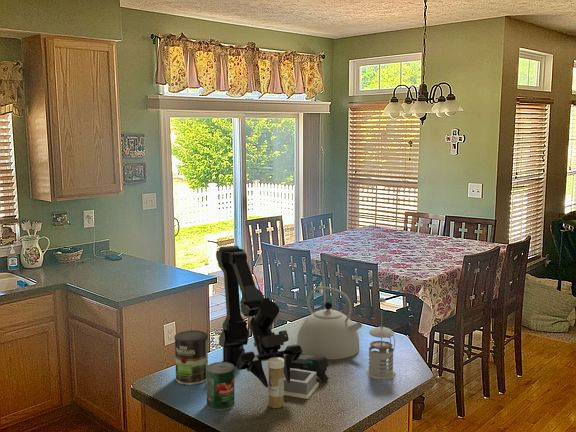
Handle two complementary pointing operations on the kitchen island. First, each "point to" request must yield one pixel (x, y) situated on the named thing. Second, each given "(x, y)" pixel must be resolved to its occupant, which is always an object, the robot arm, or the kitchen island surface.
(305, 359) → the gun
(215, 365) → the canned tomato
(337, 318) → the kettle
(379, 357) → the french press
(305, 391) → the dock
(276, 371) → the sprinkles bottle
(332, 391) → the kitchen island surface
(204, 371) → the coffee can
